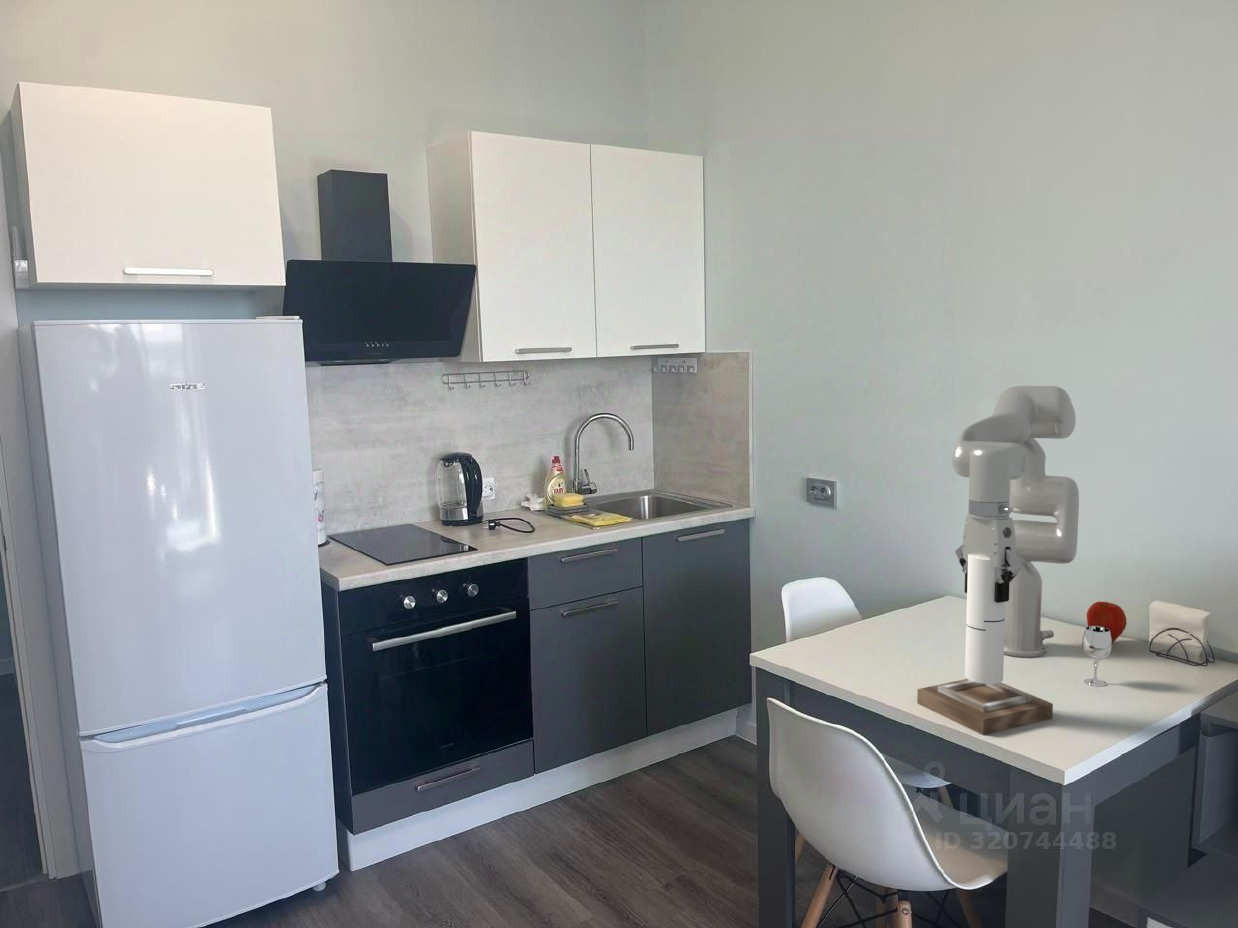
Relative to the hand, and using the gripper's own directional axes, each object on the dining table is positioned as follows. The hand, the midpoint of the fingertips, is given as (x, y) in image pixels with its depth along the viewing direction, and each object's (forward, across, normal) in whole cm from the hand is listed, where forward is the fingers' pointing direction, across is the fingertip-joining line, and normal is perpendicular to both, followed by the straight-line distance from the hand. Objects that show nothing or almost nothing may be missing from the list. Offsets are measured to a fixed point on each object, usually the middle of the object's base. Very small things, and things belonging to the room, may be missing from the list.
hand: (986, 596), depth 186 cm
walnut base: (+24, 0, 0) cm, 24 cm away
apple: (+24, +18, -57) cm, 64 cm away
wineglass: (+24, +1, -33) cm, 41 cm away
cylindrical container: (+17, 0, 0) cm, 17 cm away
